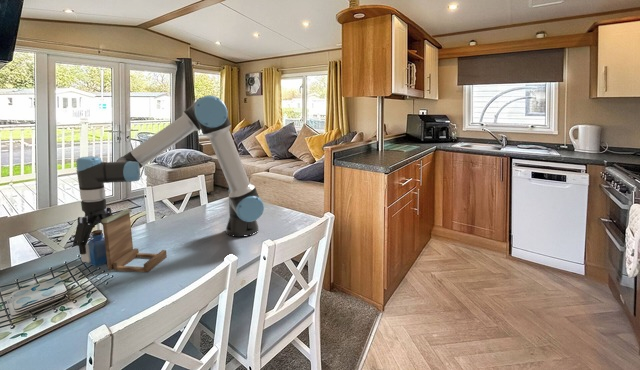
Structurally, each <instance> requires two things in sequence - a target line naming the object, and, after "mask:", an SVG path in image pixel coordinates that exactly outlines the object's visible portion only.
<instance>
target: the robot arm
mask: <svg viewBox="0 0 640 370" xmlns="http://www.w3.org/2000/svg"><path fill="white" fill-rule="evenodd" d="M228 112H229V111H228V108H227V106H226V104H225V102H224V101H223V100H222V99H221V98H219V97H217V96H216V95H204V96H201V97H199V98H197V99H196V101H194V102H193V104H192V105H190V106H189V107H187V109H185V111H183V112H182V115H181V116H179V117H178V118H177V119H176V120H174V121H173V122H171V123H170V124H168V125H167V126H165V127H164V128H162V129H161V130H160V131H158V132H156V133H155V134H153V135H152V136H151V137H149V138H148V139H146V140H144V141H143V142H141V143H140V144H139V145H138V146H136V147H135V148H133V149H131V150H130V151H129V152H127V153H126V154H124V155H123V156H120V157H119V158H118V159H117V160H116V161H110V162H108V161H107V162H106V161H105V162H104V161H102V158H101V157H99V156H81V157H78V158H77V159H76V174H77V180H78V181H77V183H78V189H79V196H80V200H81V202H80V206H81V210H82V212H84V216H78V217H77V226H76V229H75V234H74V237H73V242H72V245H73V246H75V247H76V246H78V249H79V255H80V257H81V262H82V263H89V262H90V261H91V260H90V252H89V244H88V242H89V238H90V236H91V235H92V234H91V233H92V232H93V230H94V228H95V227H96V226H97V225H99V224H101V226H103V223H102V221H101V220H102V219H104V218H107V217H109V216H111V215H114V214H113V213H112V209H111V207H110V206H109V207H107V202H106V201H107V200H106V189H105V183H106V184H108V183H132V182H139V181H140V179H141V169H142V168H143V167H144V166H146V165H147V164H149V163H150V162H151V161H153V160H155V158H157V157H159V156H160V155H162V154H163V153H165V152H166V151H168V150H169V149H170V148H171V147H173V146H174V145H176V144H177V143H179V142H180V141H182V140H183V139H184V138H186V137H187V136H190V134H192V133H193V132H199V131H200V130H201V133H202V135H203V136H205V137H207V138H208V139H209V142H210V143H211V147H212V148H213V152H214V153H215V156H216V159H217V161H218V163H219V167H220V168H221V170H222V173H223V176H224V177H225V181H226V183H227V185H228V191H227V192H228V206H229V207H228V209H229V212H228V213H229V216H228V217H229V218H228V220H227V223H226V228H225V233H226V232H227V233H228V234H230V235H234V236H244V235H250V234H253V233H255V232H257V231H258V232H259V223H258V222H257V220H258V219H260V218H261V216H262V215H263V213H264V211H265V204H264V202H263V200H262V199H261V197H260V196H259V193H258V191H257V188H256V185H254V184H252V183H251V182H250V179H249V178H248V175H247V173H246V172H247V171H246V170H245V167H244V165H243V162H242V160H241V157H240V155H239V152H238V148H237V146H236V144H235V142H234V139H233V137H232V134H231V131H230V130H231V127H232V124H231V120H230V118H229V116H228V114H229V113H228ZM258 232H257V233H258ZM227 233H226V234H227ZM228 234H227V235H228ZM230 235H229V236H230ZM234 236H233V237H234Z"/></svg>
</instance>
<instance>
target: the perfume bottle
mask: <svg viewBox="0 0 640 370" xmlns="http://www.w3.org/2000/svg"><path fill="white" fill-rule="evenodd" d="M91 233H92V234H91V237H92V238H91V239H90V240H88V242H87V244H89V252H90V260H91V261H90V262H88V263H89V264H91V265H92V266H94V267H98V266H102V265H105V264H107V256H106V248H105V239H104V232H103V229H95V230H92V232H91Z"/></svg>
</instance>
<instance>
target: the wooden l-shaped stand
mask: <svg viewBox="0 0 640 370" xmlns="http://www.w3.org/2000/svg"><path fill="white" fill-rule="evenodd" d="M132 211H133V210H132V208H125V209H122V210H121V211H119V212H116V213H114V214H113V215H111V216H109V217H107V218H104V219H102V220H101V221H102V223H103V225H102V232H103V238H104V239H105V248H106V256H107V263H106V264H107V270H108V271H118V272H133V273H134V272H137V273H150V271H152V270H153V269H154V268H155V267H156V266H158V265H159V264H160V263H162V262H163V261H164V260H166V258H167V256H168V255H167V254H168V253H167V250H166V249H162V250H160V251H159V252H158V253H147V252H145V253H144V252H139V248H134V245H133V235H132V234H133V233H132V226H131V215H130V213H131V212H132ZM132 213H133V212H132ZM136 258H145V259H146V258H147V259H149V260H148V261H146V262H144V264H143V266H129V265H128V264H129V263H130V262H133V261H134V260H135V259H136Z"/></svg>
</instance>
